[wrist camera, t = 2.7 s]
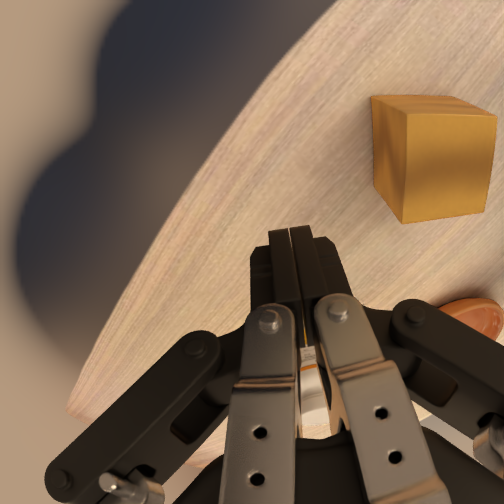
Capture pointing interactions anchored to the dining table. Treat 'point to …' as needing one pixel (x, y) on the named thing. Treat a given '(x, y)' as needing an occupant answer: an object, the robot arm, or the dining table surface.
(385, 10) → the dining table surface
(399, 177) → the box
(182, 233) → the dining table surface
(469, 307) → the saucer
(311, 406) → the supplement bottle
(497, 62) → the dining table surface
